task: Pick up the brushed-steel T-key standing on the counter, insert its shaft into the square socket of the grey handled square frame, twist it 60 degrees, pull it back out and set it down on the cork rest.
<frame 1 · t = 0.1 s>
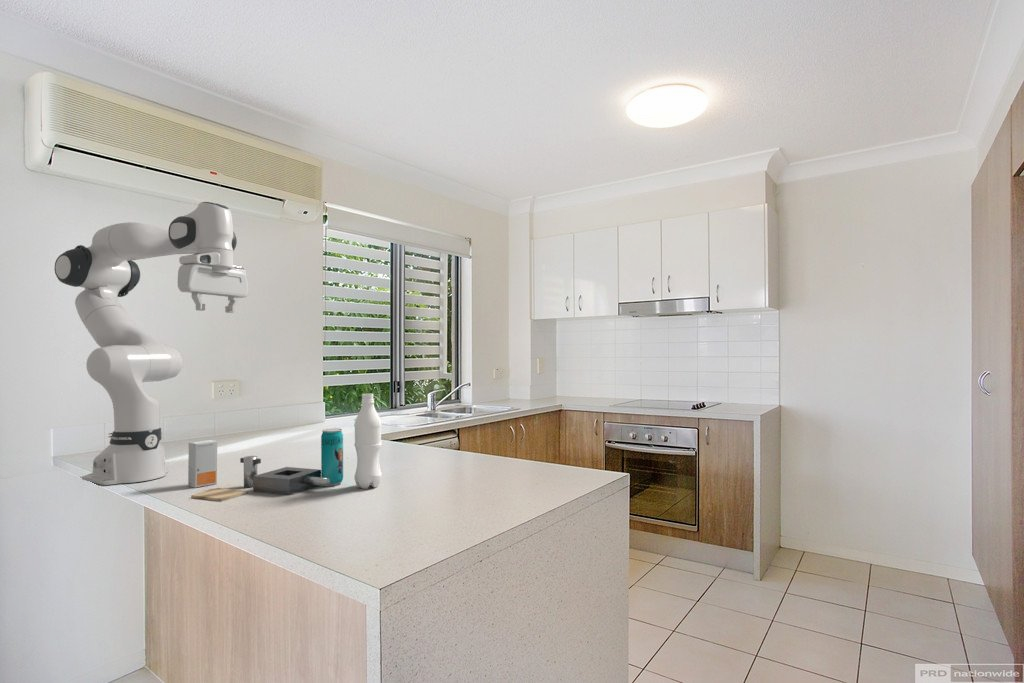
hand: (215, 311, 152), 48 cm above the countertop, fingers open, 8 cm apart
water bottle: (368, 487, 149), on the countertop
skincare box: (203, 485, 153), on the countertop
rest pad: (219, 495, 142), on the countertop
beverage can: (332, 485, 152), on the countertop
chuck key: (250, 486, 151), on the countertop
grey handled square frame: (287, 487, 149), on the countertop
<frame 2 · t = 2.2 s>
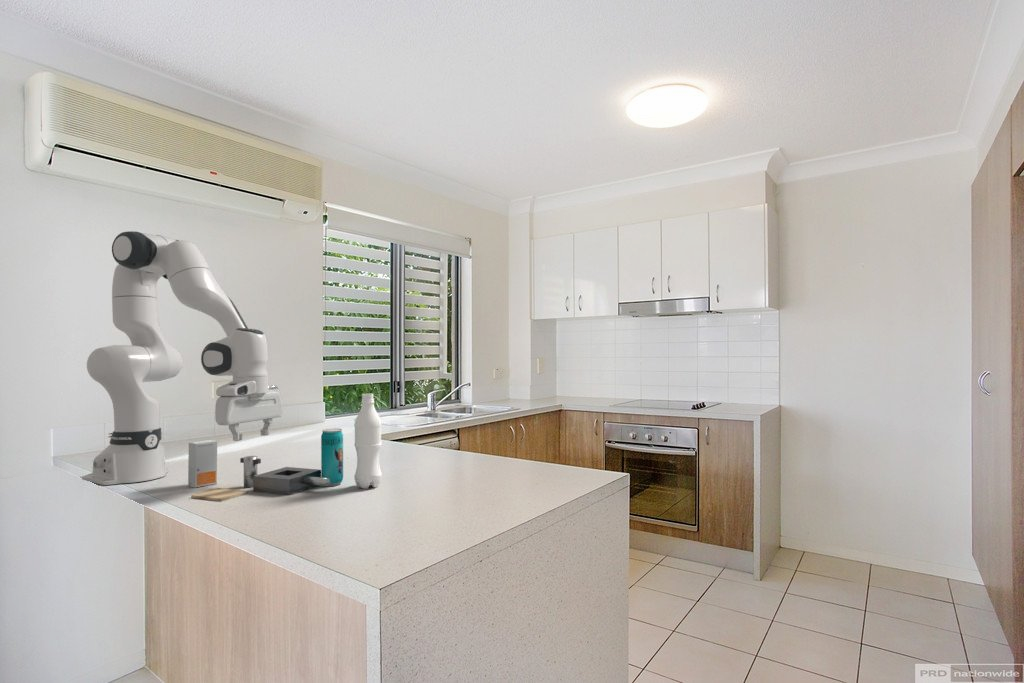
hand: (251, 437, 151), 13 cm above the countertop, fingers open, 8 cm apart
nothing on the countertop moved.
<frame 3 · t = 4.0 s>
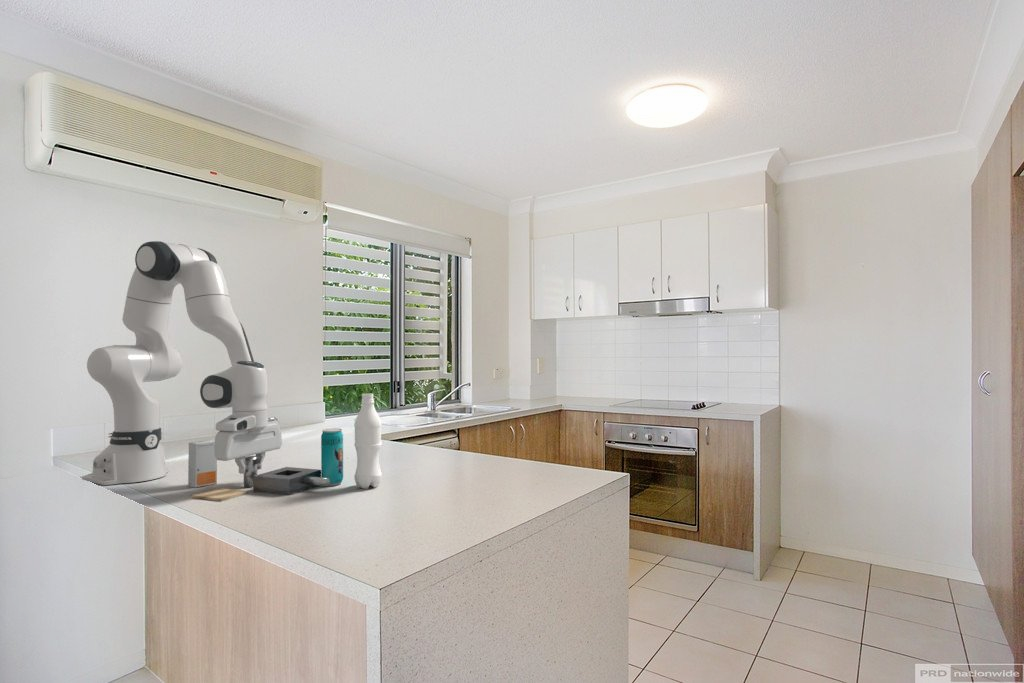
hand: (250, 471, 151), 4 cm above the countertop, fingers closed on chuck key, 3 cm apart
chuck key: (250, 486, 151), on the countertop, touching gripper
everything else where it was.
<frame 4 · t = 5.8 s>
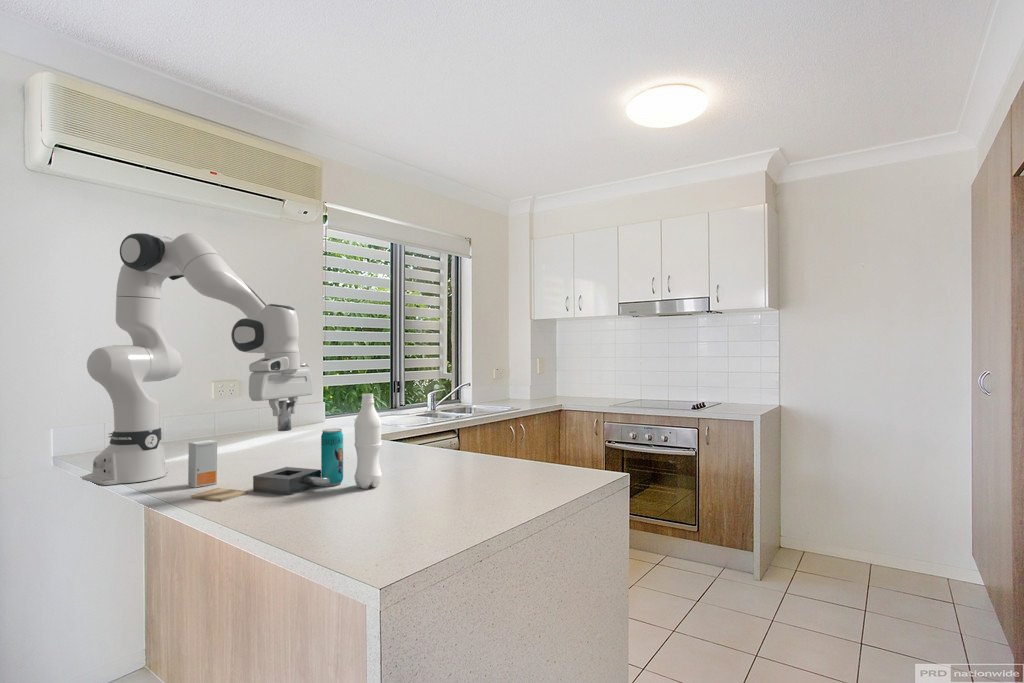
hand: (284, 415, 149), 20 cm above the countertop, fingers closed on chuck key, 3 cm apart
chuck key: (284, 430, 149), point 15 cm above the countertop, touching gripper
everything else where it was.
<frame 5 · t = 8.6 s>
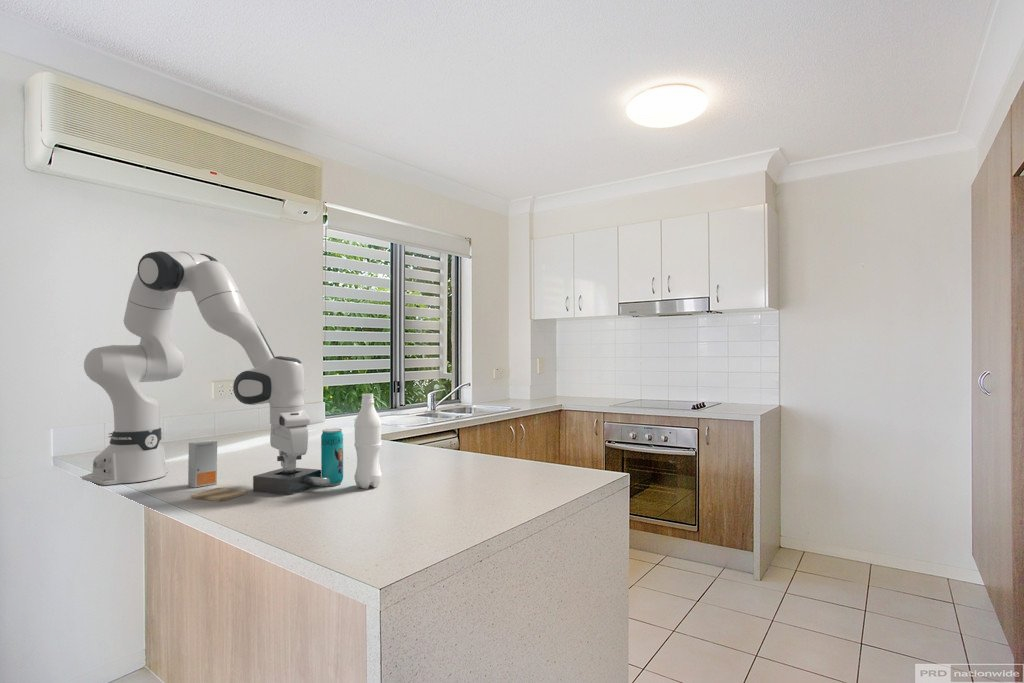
hand: (287, 468, 149), 5 cm above the countertop, fingers closed on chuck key, 3 cm apart
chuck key: (289, 483, 149), point 1 cm above the countertop, touching gripper
everything else where it was.
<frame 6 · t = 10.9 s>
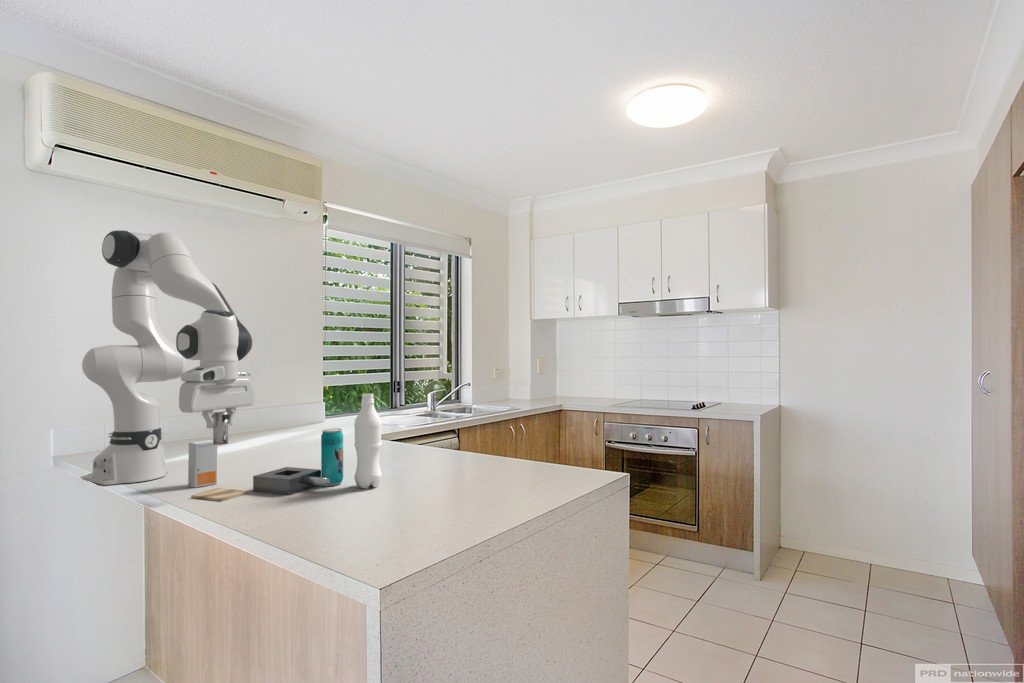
hand: (219, 426, 142), 18 cm above the countertop, fingers closed on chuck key, 3 cm apart
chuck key: (220, 443, 142), point 13 cm above the countertop, touching gripper
everything else where it was.
when the fingers open (5 cm above the countertop, at t = 13.3 s): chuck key stays where it is, resting on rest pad.
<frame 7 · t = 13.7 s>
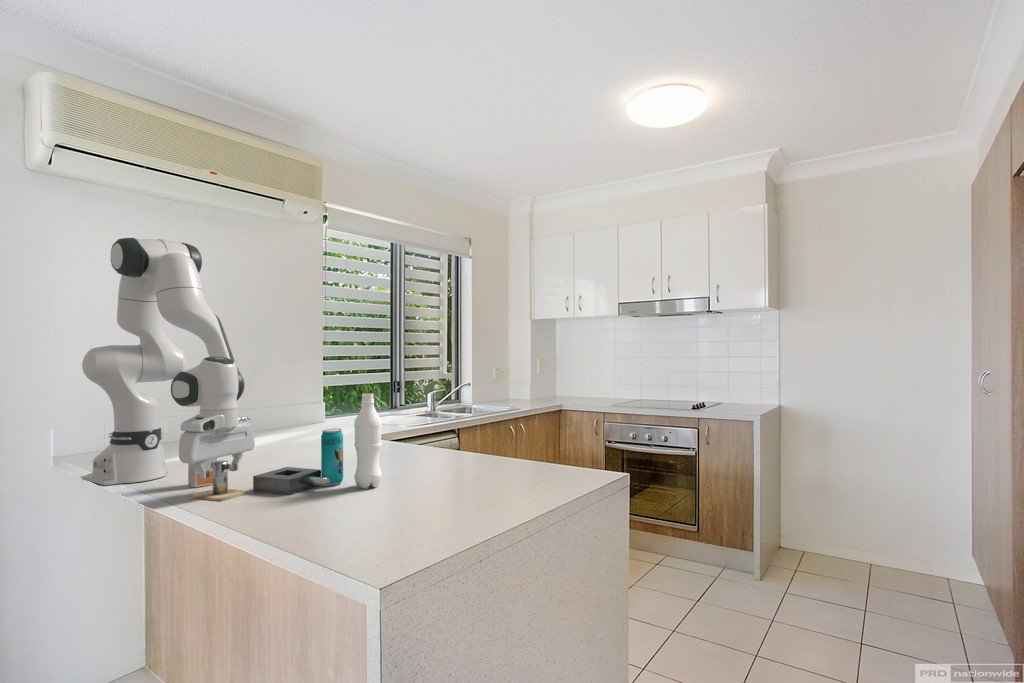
hand: (219, 474, 142), 5 cm above the countertop, fingers open, 8 cm apart
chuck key: (220, 493, 142), point 1 cm above the countertop, touching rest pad
everything else where it was.
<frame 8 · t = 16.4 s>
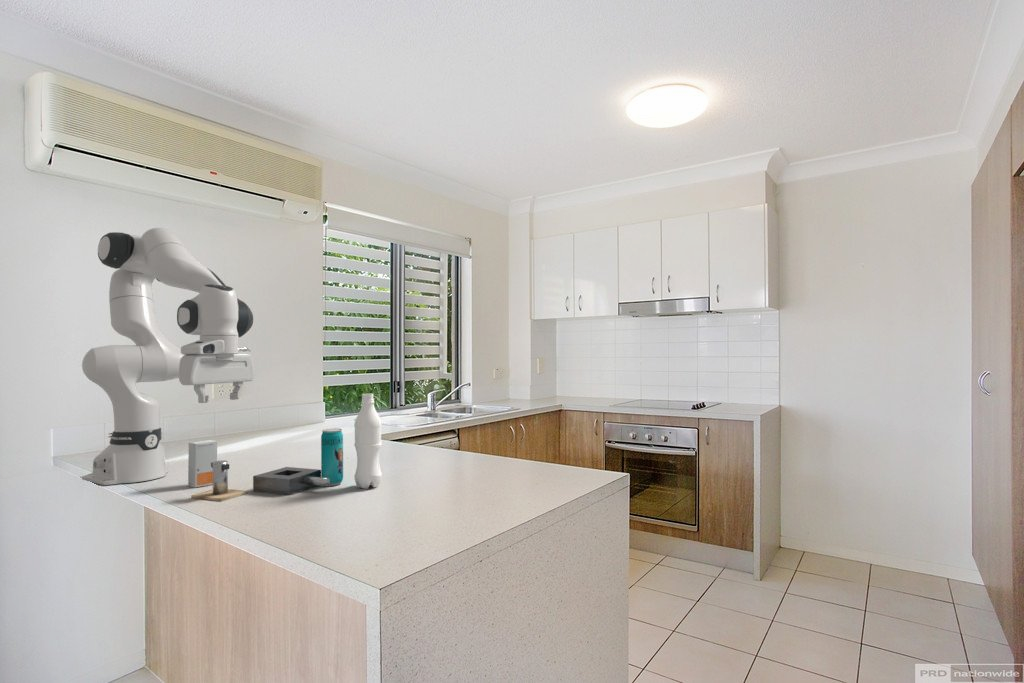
hand: (219, 401, 142), 24 cm above the countertop, fingers open, 8 cm apart
nothing on the countertop moved.
at the end: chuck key inside the target area on the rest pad (0.3 cm from its centre), point 0.6 cm above the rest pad's base; the gripper is holding nothing; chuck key touching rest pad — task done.
